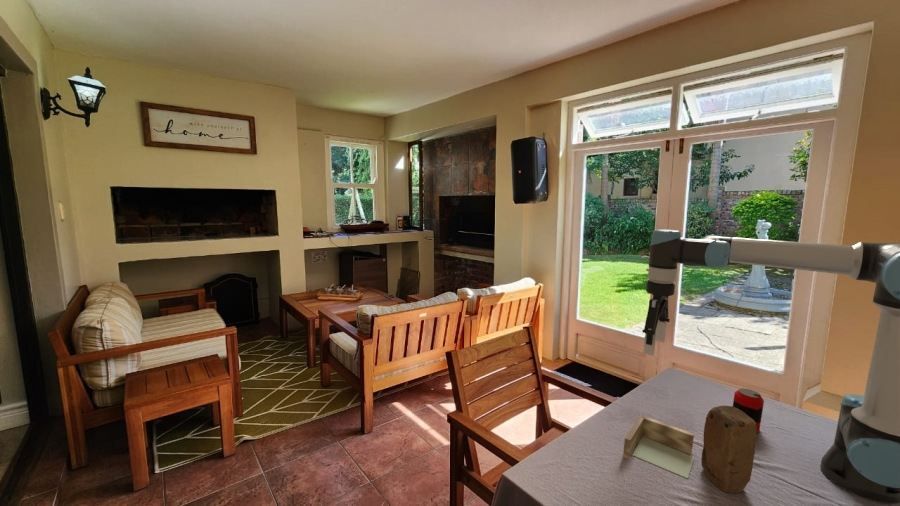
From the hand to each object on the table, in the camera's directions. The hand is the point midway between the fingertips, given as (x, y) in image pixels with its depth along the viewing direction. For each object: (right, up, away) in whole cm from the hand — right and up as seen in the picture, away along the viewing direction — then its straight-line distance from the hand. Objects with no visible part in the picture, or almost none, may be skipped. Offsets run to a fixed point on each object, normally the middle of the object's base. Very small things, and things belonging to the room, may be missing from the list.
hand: (654, 347), depth 119 cm
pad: (-2, -30, -8) cm, 31 cm away
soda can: (+33, -28, +7) cm, 44 cm away
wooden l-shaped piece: (-3, -29, -7) cm, 31 cm away
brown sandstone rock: (+9, -31, -17) cm, 37 cm away
